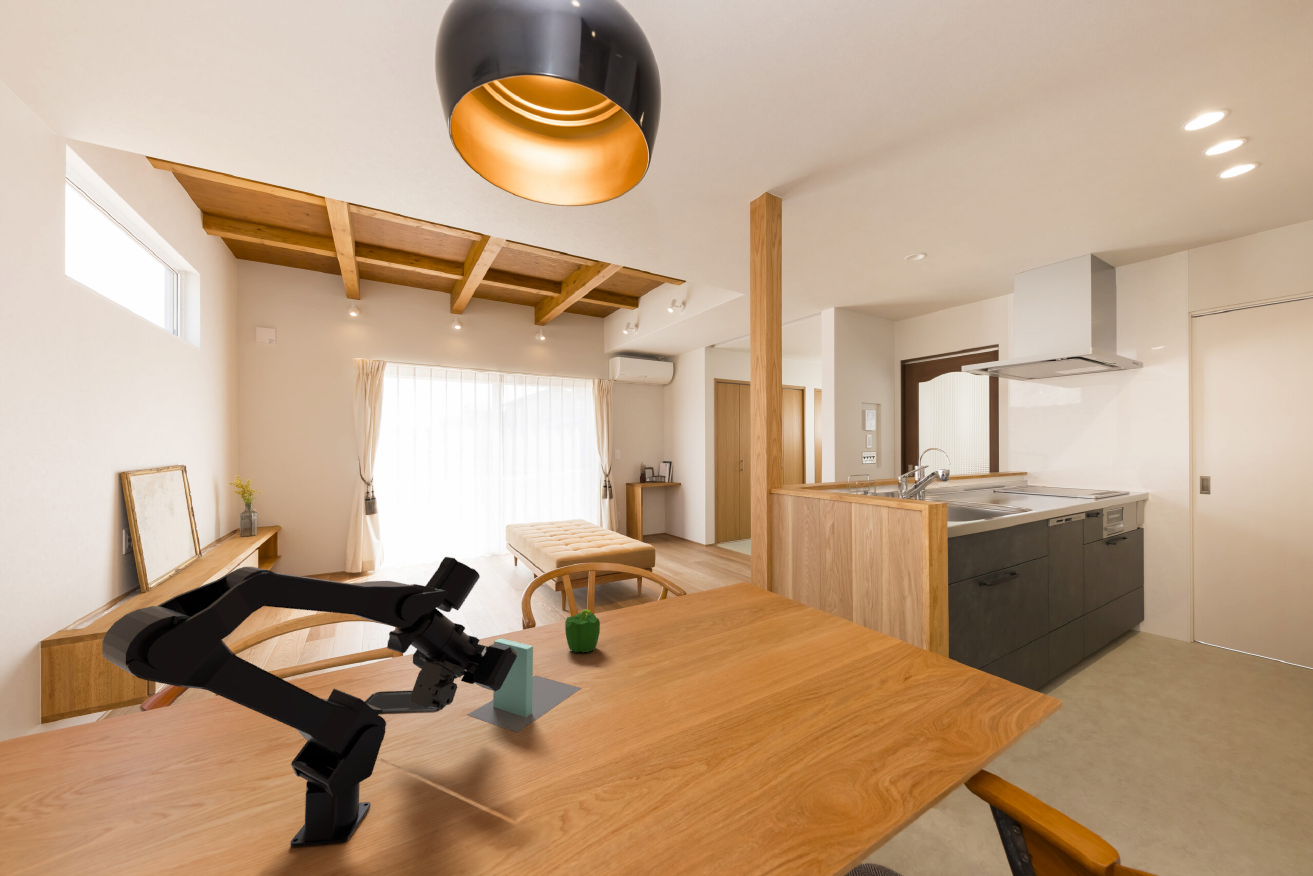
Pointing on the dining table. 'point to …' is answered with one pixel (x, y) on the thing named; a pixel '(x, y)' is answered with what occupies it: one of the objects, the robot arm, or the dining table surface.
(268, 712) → the robot arm
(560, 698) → the mat
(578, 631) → the bell pepper
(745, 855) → the dining table surface
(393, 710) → the phone
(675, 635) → the dining table surface
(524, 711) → the teal board
